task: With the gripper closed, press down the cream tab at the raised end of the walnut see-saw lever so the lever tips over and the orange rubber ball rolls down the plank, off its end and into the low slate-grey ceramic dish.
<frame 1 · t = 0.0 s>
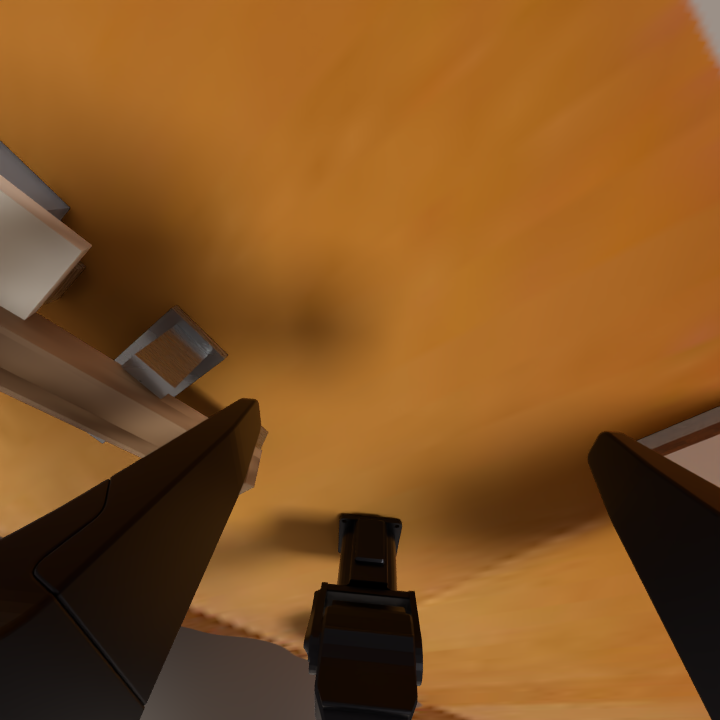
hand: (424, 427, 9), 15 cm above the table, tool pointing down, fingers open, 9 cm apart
display case: (710, 457, 27), on the table
stand: (163, 363, 26), on the table
lever: (139, 386, 20), point 6 cm above the table, hinge at -11.0°, touching ball
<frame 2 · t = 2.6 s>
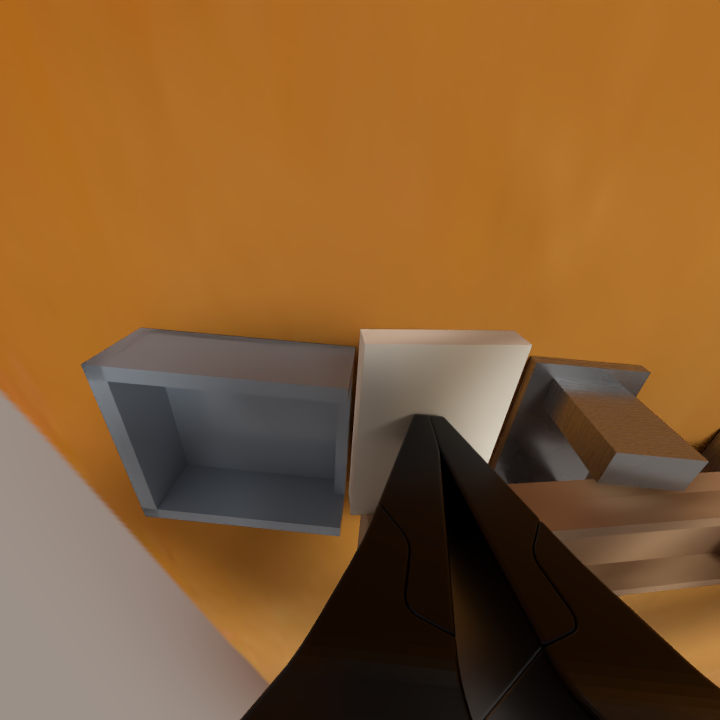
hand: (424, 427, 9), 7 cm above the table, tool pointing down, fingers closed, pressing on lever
stand: (547, 441, 17), on the table
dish: (256, 414, 18), on the table
lever: (650, 493, 11), point 6 cm above the table, hinge at -10.5°, touching gripper
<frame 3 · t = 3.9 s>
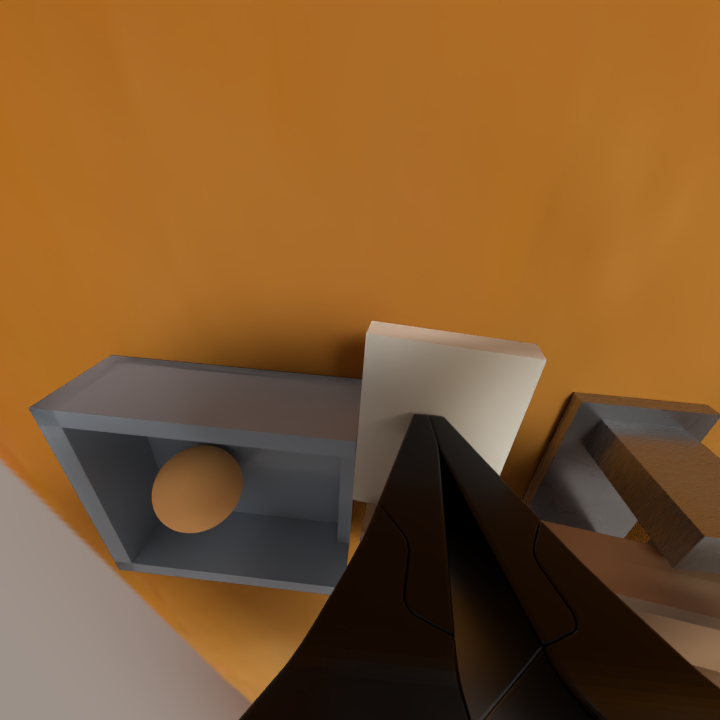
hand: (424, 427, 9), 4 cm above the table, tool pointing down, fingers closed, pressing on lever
ball: (199, 487, 14), point 2 cm above the table, tilted 104°, touching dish
stand: (586, 486, 15), on the table
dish: (248, 451, 15), on the table
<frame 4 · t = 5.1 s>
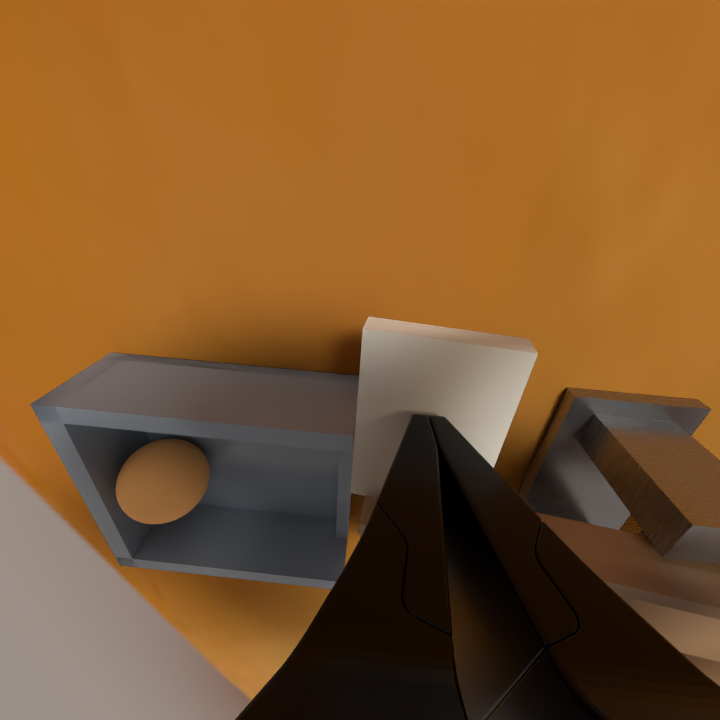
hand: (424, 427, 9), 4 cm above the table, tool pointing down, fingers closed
ball: (165, 479, 14), point 2 cm above the table, tilted 175°, touching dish
stand: (580, 480, 15), on the table
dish: (247, 447, 16), on the table
lever: (712, 569, 9), point 6 cm above the table, hinge at 7.7°
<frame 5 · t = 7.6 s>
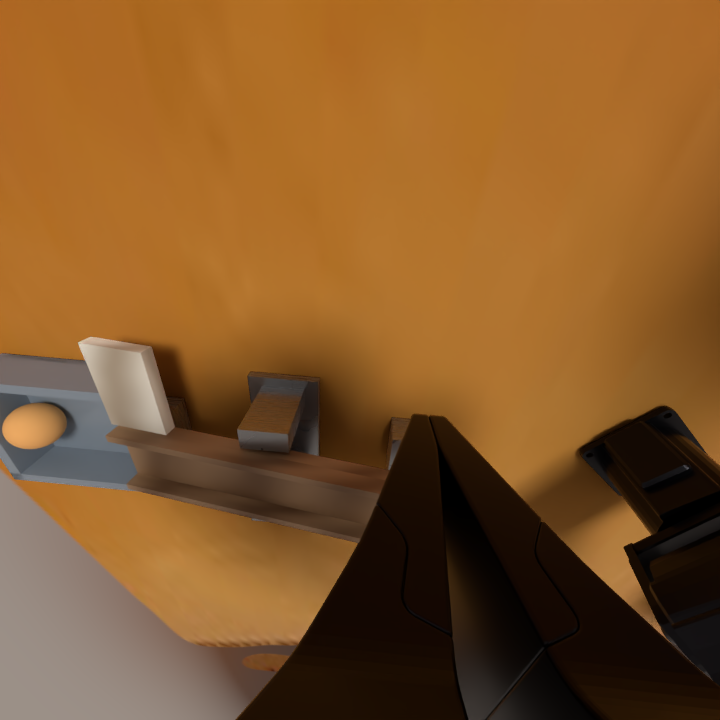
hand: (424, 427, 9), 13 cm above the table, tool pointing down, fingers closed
ball: (36, 425, 24), point 2 cm above the table, tilted 173°, touching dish
stand: (288, 427, 26), on the table
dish: (93, 410, 26), on the table
lever: (255, 451, 19), point 6 cm above the table, hinge at 7.7°
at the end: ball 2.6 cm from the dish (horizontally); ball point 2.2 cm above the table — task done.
